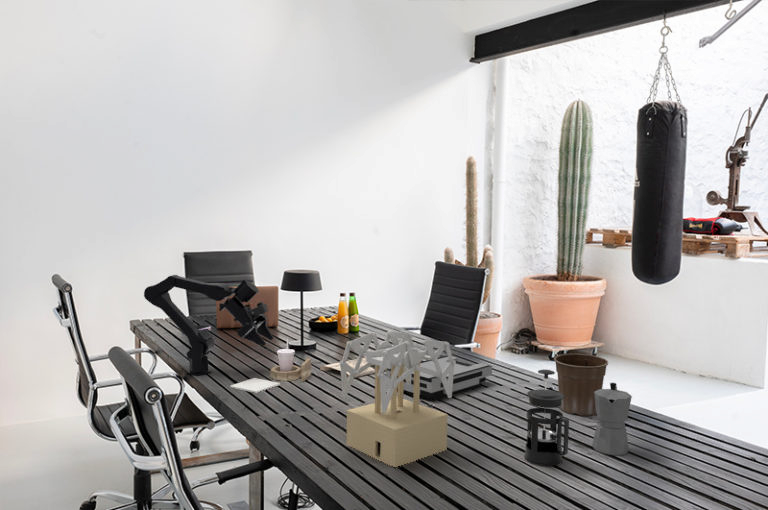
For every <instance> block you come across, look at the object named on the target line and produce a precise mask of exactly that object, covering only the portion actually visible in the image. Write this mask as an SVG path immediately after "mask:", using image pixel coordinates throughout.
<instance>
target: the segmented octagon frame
mask: <svg viewBox="0 0 768 510" xmlns="http://www.w3.org/2000/svg"><path fill="white" fill-rule="evenodd" d="M310 376H312V358H311V357H310V358H307V359H305V361H304V362H302V364H301V366H297V365H294V364H293V366H292V371H290V372H280V366H279V365H277V366H276V365H275V366H273V367H271V368H270V379H272V378H273V380H274V379H275V380H274V381H277V380H281V381H280V382H291V381H296V379H297V380H300V382H301V381H305V380H307V379H308V378H309V377H310ZM305 382H306V381H305Z"/></svg>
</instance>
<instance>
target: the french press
mask: <svg viewBox="0 0 768 510" xmlns="http://www.w3.org/2000/svg"><path fill="white" fill-rule="evenodd" d="M537 373H538V374H541V375H543V377H544V378H543V379H545V380H544V381H545V384H544V389H532V390H529V391H528V392H527V394H526V395H527V397H528V402H529V404H531V405H532V406H535V407H533V408H530V409H527V411H526V419H527V429H526V430H527V432H526V443H525V448H524V449H525V451H524V452H525V453H524V460H525V459H526V460H527V462H528V463H529V462H530V464H532V463H533V465H534V464H537V465H536V466H538V465H542V466H541V467H547V466H549V467H555V466H554V465H557V466H559V465H558V464H560V463H561V462H562V463H563V457H562V456H566V455H568V453H569V433H570V432H569V431H570V430H569V429H570V420H569V419H567V418H564V414H563V412H561V411H560V410H556V409H554V408H560V407H559V406H561V405H562V399H563V398H564V395H563V394H561V393H559V391H555V390H551V389H547V385H548V383H547V382H548V381H547V380H548V379H549V375H550V376H551V375H555V374H556V372H555V371H554V370H551V369H539V370H537ZM533 414H543V417H541V418H540V417H535V416H534V415H533ZM547 414H549V415H550V418H546V415H547ZM539 424H541V425H543V428H539ZM546 425H549V427H550V428H549V429H546ZM563 425H564V426H563ZM562 427H563V428H562ZM562 430H563V447H562ZM562 448H563V449H562ZM526 460H525V461H526ZM562 463H561V464H562ZM561 464H560V465H561Z"/></svg>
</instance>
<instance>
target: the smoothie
mask: <svg viewBox="0 0 768 510" xmlns="http://www.w3.org/2000/svg"><path fill="white" fill-rule="evenodd" d="M276 352H277V353H276V354H277V355H278V357H277V358H278V366H280V372H290V371H292V366H293V365H294V356H295V353H296V351H295V349H290V348H289V338H287V339H286V348H282V349H278V350H277V351H276Z"/></svg>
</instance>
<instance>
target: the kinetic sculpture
mask: <svg viewBox="0 0 768 510" xmlns="http://www.w3.org/2000/svg"><path fill="white" fill-rule="evenodd" d="M412 338H413V334H412V333H410V332H401V331H391V330H388V331H386V336H385V340H384V341H382V342H379V339H378V335H377V333H375V332H373V331H372V332H371V331H370V332H369V333H367V334H364V335H362V336H360V337H358V338H355V339H353V340H349V341H346V346H345V349H344V352H343V356H342V360H340V361H339V362H340V363H339V362H338V363H339V364H340V368H341V371H340V379H341V393H342V395H341V397H342V399H346V398H347V395H348V393H349V391H350V389H351V386H352V384H353V381H354V379H355V378H354V376H355V375H356V376H357V375H360V373H362V372H363V371H364V370H366V369H367V368H368V367H370V366H371V365H373V364H375V373H374V402H373V403H369V404H365V405H362V406H357V407H354V408H350V409H347V410H346V446H347V445H349V446H351V447H353V448H355V449H357V450H359V451H361V452H363V453H365V454H367V455H366V456H368V455H369V456H368V457H370V456H371V457H370V458H372V457H373V458H372V459H374V458H375V459H374V460H376V459H377V460H376V461H378V460H379V462H380V461H382V462H384V463H383V464H385V463H386V464H385V465H387V464H388V465H387V466H389V465H390V466H389V467H391V466H393V467H397V468H399V467H398V466H400V467H402V466H401V465H403V466H405V465H404V464H406V465H408V464H411V463H413V461H414V462H416V460H417V461H419V460H418V459H420V460H422V459H421V458H423V459H425V458H424V457H426V458H428V457H427V456H429V457H430V455H431V456H434V455H437V454H440V453H442V451H443V452H446V451H447V448H448V414H447V413H446V412H442V411H439V410H437V409H434V408H431V407H428V406H426V405H425V406H424V405H422V404H420V395H419V387H420V372H423V373H426V374H429V375H432V376H435V377H439V378H441V381H442V383H443V386H444V388H445V391H446V393H447V396H448V397H447V398H448V399H451V398H452V396H453V395H452V387H453V375H454V365H455V364H456V361H454V360H453V358H452V357H453V354H452V351H451V347H450V343H449V342H448V341H442V340H441V341H440V340H439V341H438V340H431V339H428V340H427V339H423V340H422V344H423V345H424V350H422V351H419V350H418V349H417V348H415V346H414V343H413V339H412ZM398 339H401V341H400V342H399V340H398ZM372 342H373V345H374V349H375V350H370V349H369V347H370V345H371V343H372ZM390 342H391V343H390ZM363 343H364V344H363ZM360 344H363V345H362V347H361V346H360ZM434 348H436V349H437V350H434ZM351 349H352V350H353V351H355V352H356V353H357V354H358V358H357V359H358V360H357V363H356V365H355V368H354V369H353V368H352V367H351V366H349V365H348V364H347V363H346V361H348V357H349V354H350V351H351ZM444 350H445V351H446V356H447V355H448V360H449V364H448V365H447V367H446V368H445V370H444V371H443V372H442V371H441V368H440V365H439V362H438V357H440V355H441V354H442V353H443V352H444ZM364 357H366V362H368V363H366V364H365V365H364V366H362V367H361V368H359V367H360V364H361V361H362V358H364ZM420 360H421V361H426V360H432V361H433V362H434V365H435V367H436V370H437V372H436V371H433V370H430V369H427V368H424V367H421V366H420ZM406 367H407V368H406ZM384 368H388V369H391V379H389V378H388V377H387V376H386V374H385V373H384V372H385V371H384ZM346 372H348V373H350V375H349V378H347V376H348V374H347V373H346ZM413 372H414V393H413V397H412V398H413V400H412V401H410V400H408V399H405V398H404V392H403V381H404V379H405V380H406V382H407V384H408V385H410V384H411V377H412V373H413ZM448 373H449V377H448V381H447V378H446V375H447V374H448ZM397 374H398V378H397ZM409 382H410V383H409ZM397 384H398V390H397ZM387 387H389V388H388V389H387ZM449 395H450V396H449ZM349 446H348V447H349ZM351 447H350V448H351ZM353 448H352V449H353ZM355 449H354V450H355ZM357 450H356V451H357ZM445 450H446V451H445ZM359 451H358V452H359ZM361 452H360V453H361ZM439 452H440V453H439ZM363 453H362V454H363ZM436 453H437V454H436ZM365 454H364V455H365ZM433 454H434V455H433ZM382 462H381V463H382ZM410 462H411V463H410ZM407 463H408V464H407ZM393 467H392V468H393Z"/></svg>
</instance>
